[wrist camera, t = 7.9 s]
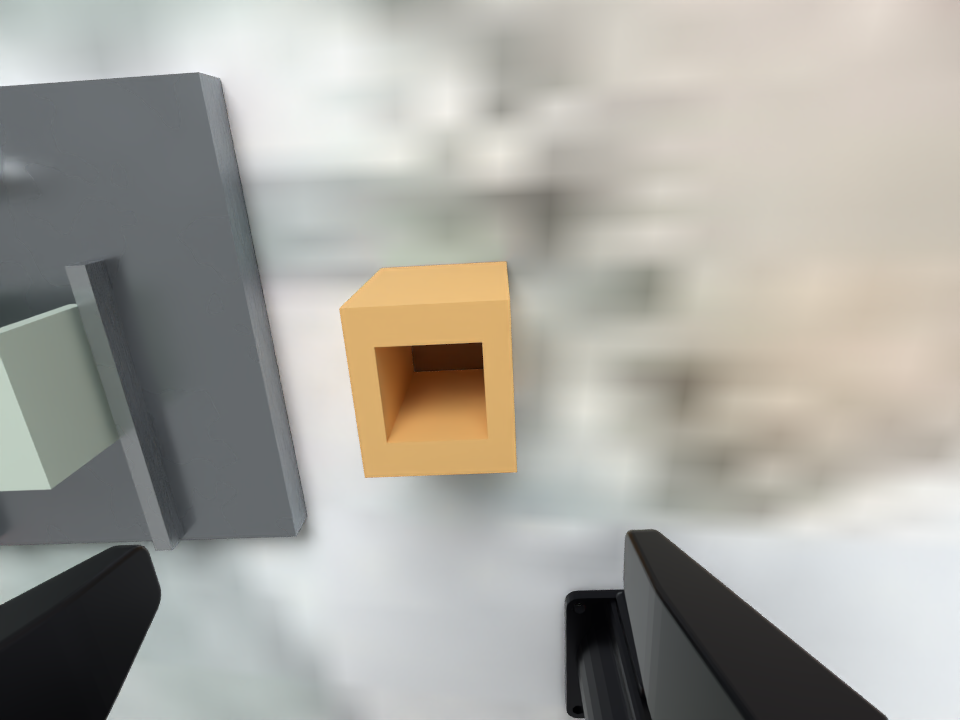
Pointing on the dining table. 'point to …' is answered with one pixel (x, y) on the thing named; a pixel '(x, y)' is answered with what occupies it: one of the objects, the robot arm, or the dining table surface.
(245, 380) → the housing base
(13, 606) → the robot arm
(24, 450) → the housing cover
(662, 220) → the dining table surface
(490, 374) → the block
